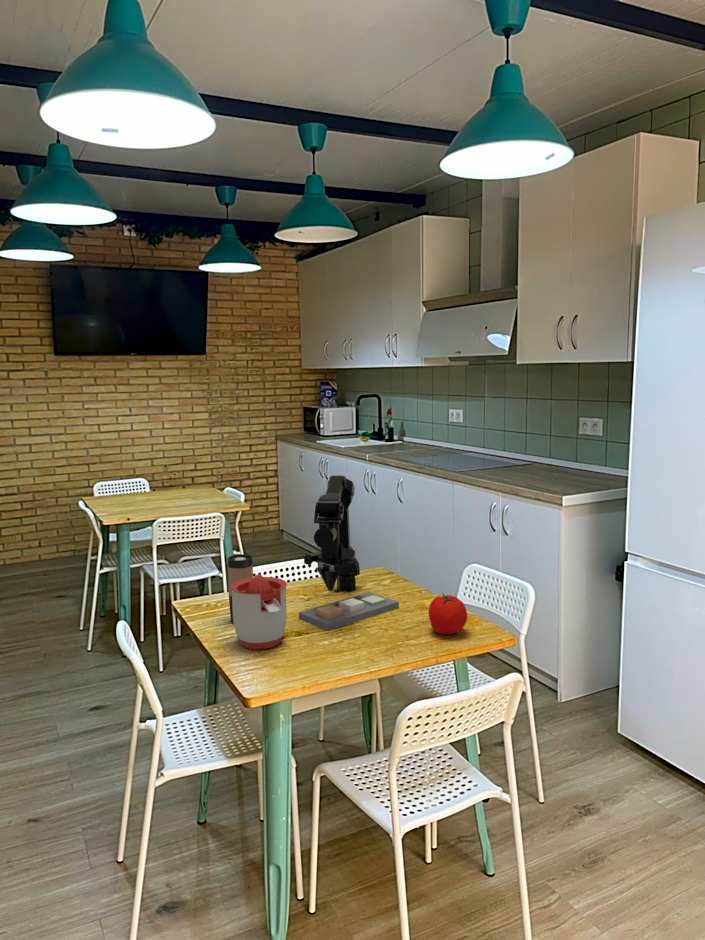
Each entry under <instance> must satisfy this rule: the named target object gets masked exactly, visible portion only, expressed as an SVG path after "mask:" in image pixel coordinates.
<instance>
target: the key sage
mask: <svg viewBox="0 0 705 940" xmlns="http://www.w3.org/2000/svg"><path fill="white" fill-rule="evenodd" d="M361 601H362V602H364V603H365V604H368V605H371V606H374V605H377V604H381V603H384V602H386V599H384V598H381V597H378V596H375V595H372V596H369V597H366V598H362V599H361Z"/></svg>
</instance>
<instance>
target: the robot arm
mask: <svg viewBox="0 0 705 940" xmlns="http://www.w3.org/2000/svg"><path fill="white" fill-rule="evenodd" d="M325 491H326V492H325V494H323V495H320V496H319V498H318V499H317V501H316V502H315V507H314V516H313V524H318V528H317V529H316V531H315V532H314V534H313V541H314V543H315V545H316V546H317V547H318V548H320V550H319V551H316V552H311V553H307V554H305V555H304V557H303V564H305V565H307V566H311V565H312V564H313V562H315V563H317V567H315V570H317V572H318V574H319V575H320V578H321V579H322V581H323V583H324V585H325V586H326V588H327V590H328V592H335V593H340V592H348V593H352V592H356V591H357V584H356V583H357V581H356V577H358V575H361V574H360V573H361V569H360V562H359V561H358V558H357V557H356V550H354V549H353V547H352V546H351V535H350V534H351V532H350V531H351V529H350V528H351V527H350V510H349V509H350V508H349V507H350V505H351V503H352V501H353V498H354V496H355V485H354V482H353V481H352V480H350V479H349V478H347V477H346V476H344V475H331V476H329V480H328V481H327V489H326V490H325ZM335 585H336V588H335Z"/></svg>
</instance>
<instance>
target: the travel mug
mask: <svg viewBox="0 0 705 940" xmlns="http://www.w3.org/2000/svg"><path fill="white" fill-rule="evenodd" d="M227 577H228V578H227V580H228V583H227V584H228V601H229V615H230V616H229V617H230V622H231V623H232V624H233V625H234V622H233V608H232V589H231V585H232V584H233V583H235V582H237V581H239V580H242V579H247V578H254V564H253V556H252V555H250V554H244V553H243V554H233V555H230V556H228V557H227Z"/></svg>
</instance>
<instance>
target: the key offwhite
mask: <svg viewBox="0 0 705 940" xmlns="http://www.w3.org/2000/svg"><path fill="white" fill-rule="evenodd" d="M339 608H341V609H342V610H345V611H347V612H350V613H351V612H355V611H358V610H361V609H364V602H362V601H359V600H357V599H354V598H351V599H348V600H344V601H341V602H339Z"/></svg>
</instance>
